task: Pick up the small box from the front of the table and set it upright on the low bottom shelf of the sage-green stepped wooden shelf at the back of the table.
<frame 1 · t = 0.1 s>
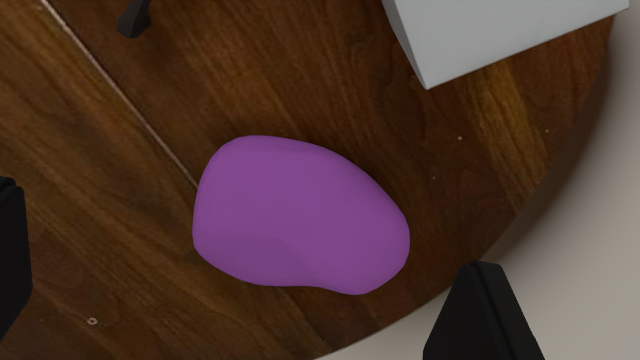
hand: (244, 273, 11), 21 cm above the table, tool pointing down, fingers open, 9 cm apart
blob: (299, 204, 35), on the table
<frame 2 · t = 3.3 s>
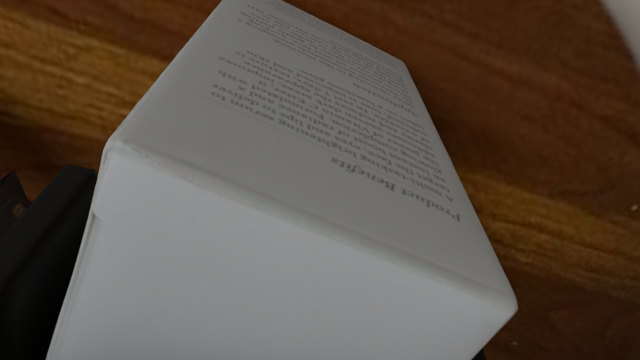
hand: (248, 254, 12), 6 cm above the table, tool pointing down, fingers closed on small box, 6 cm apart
small box: (273, 126, 17), on the table, touching gripper
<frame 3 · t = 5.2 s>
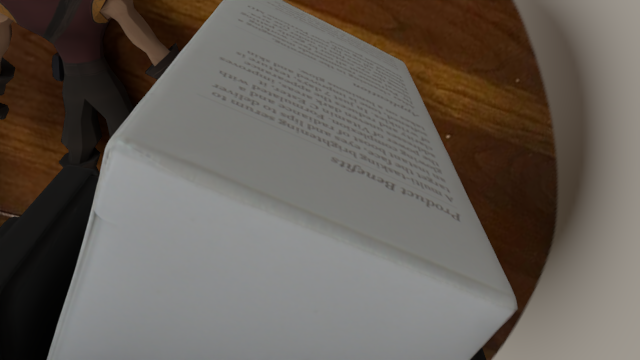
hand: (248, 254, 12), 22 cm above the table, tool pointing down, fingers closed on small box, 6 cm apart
figurine: (105, 82, 32), on the table
small box: (273, 126, 17), point 15 cm above the table, touching gripper
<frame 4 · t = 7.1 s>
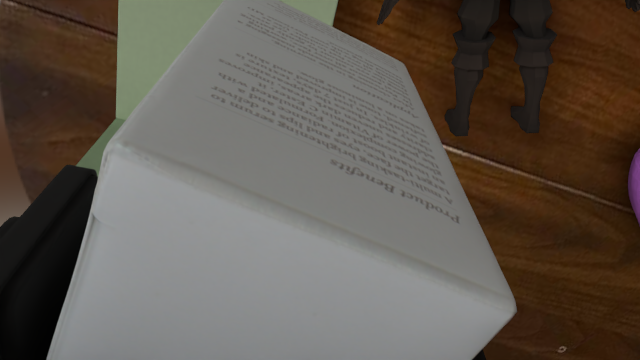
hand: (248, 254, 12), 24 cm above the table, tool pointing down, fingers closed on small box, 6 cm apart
shelf: (224, 77, 34), on the table
small box: (273, 127, 17), point 17 cm above the table, touching gripper
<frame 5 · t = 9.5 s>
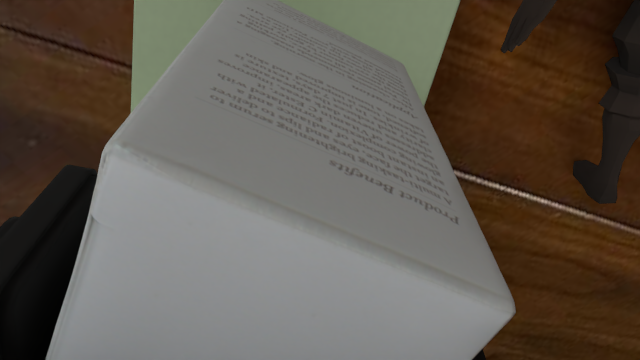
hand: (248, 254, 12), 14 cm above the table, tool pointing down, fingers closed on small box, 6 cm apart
shelf: (274, 121, 25), on the table
small box: (273, 128, 17), point 8 cm above the table, touching gripper
when the fingers open (9 cm above the table, at t = 11.2 s): small box stays where it is, resting on shelf.
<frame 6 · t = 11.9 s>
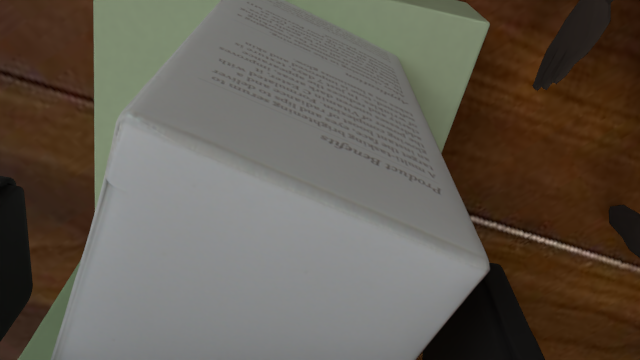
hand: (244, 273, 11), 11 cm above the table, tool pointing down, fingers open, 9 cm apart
shelf: (266, 163, 22), on the table
small box: (273, 119, 18), point 3 cm above the table, touching shelf
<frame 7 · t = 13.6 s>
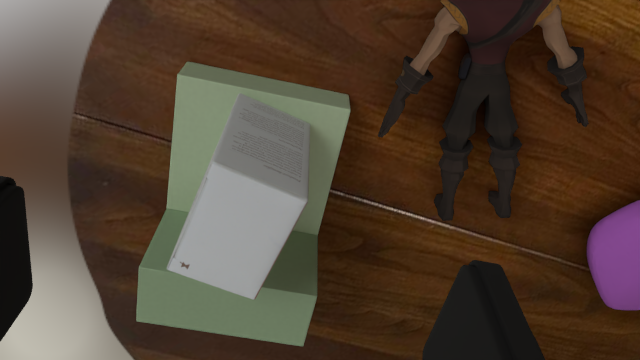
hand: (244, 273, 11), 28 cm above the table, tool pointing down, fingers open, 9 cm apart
shelf: (253, 171, 42), on the table
figurine: (476, 80, 38), on the table
small box: (255, 151, 37), point 3 cm above the table, touching shelf
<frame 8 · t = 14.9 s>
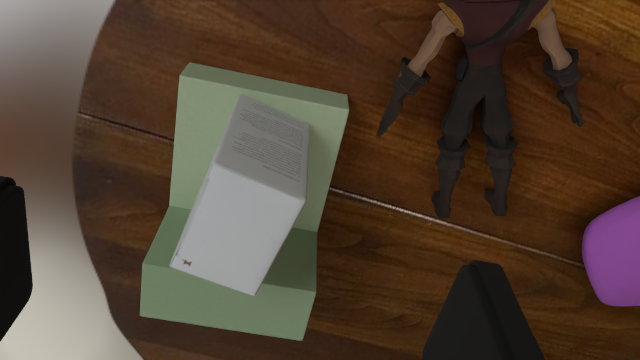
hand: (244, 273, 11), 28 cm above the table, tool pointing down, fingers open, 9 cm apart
shelf: (254, 169, 42), on the table
figurine: (473, 80, 39), on the table
small box: (256, 150, 38), point 3 cm above the table, touching shelf
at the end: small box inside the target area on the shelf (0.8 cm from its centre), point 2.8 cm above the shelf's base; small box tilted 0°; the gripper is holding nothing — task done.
